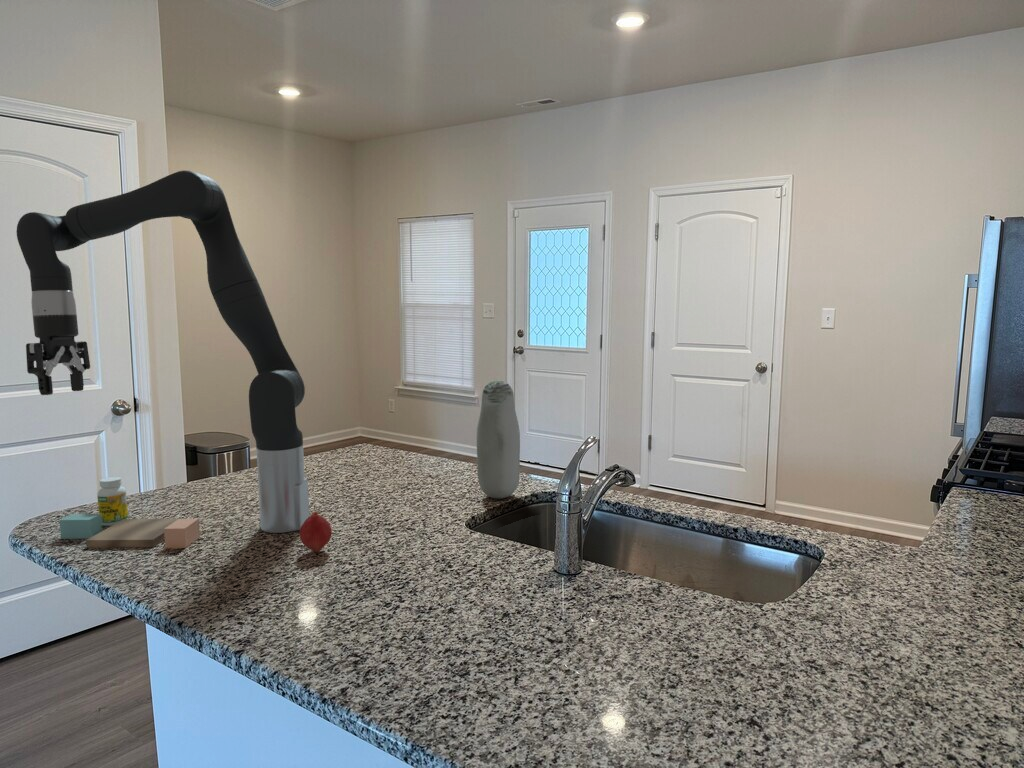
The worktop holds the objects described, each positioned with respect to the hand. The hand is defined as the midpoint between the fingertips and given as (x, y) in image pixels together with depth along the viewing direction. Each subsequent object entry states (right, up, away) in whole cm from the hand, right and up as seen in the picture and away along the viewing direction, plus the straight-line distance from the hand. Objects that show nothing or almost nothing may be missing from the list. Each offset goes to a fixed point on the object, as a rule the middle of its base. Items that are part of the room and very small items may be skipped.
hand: (62, 392), depth 141 cm
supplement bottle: (+7, -28, +7) cm, 30 cm away
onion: (+56, -30, -12) cm, 64 cm away
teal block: (+5, -29, -1) cm, 30 cm away
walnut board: (+17, -29, -2) cm, 34 cm away
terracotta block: (+28, -30, -6) cm, 41 cm away
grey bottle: (+90, -26, +23) cm, 96 cm away
